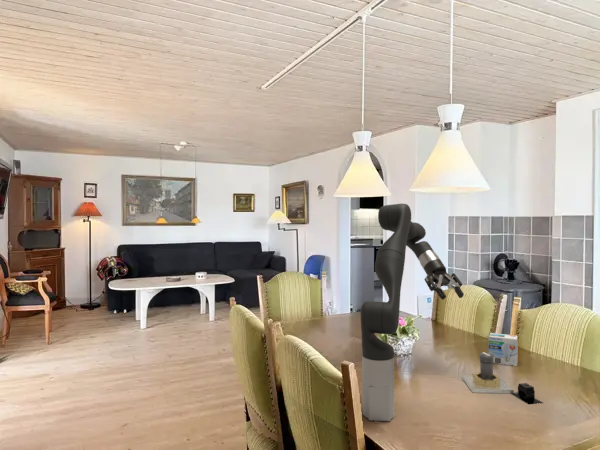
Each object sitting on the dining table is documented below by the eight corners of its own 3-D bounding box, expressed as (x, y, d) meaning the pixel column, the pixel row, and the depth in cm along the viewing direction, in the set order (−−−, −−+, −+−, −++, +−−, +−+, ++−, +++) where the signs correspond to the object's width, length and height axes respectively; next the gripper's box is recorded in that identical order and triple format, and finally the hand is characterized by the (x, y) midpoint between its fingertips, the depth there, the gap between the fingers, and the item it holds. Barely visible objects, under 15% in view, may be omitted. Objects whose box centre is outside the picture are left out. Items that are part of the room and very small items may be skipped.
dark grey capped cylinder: (496, 383, 147) (496, 355, 147) (485, 384, 146) (485, 356, 146) (488, 379, 151) (487, 351, 151) (477, 380, 150) (476, 352, 150)
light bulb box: (488, 362, 173) (487, 336, 173) (489, 358, 179) (489, 332, 179) (517, 366, 168) (517, 339, 168) (518, 361, 174) (517, 335, 174)
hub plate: (513, 393, 141) (513, 382, 141) (472, 392, 143) (472, 380, 143) (499, 379, 154) (499, 369, 154) (462, 378, 156) (462, 368, 156)
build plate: (550, 406, 132) (550, 391, 132) (528, 408, 131) (528, 393, 131) (523, 391, 145) (523, 377, 145) (503, 392, 144) (503, 379, 144)
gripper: (422, 258, 165) (443, 292, 155) (450, 257, 171) (473, 290, 161) (413, 271, 170) (433, 305, 160) (441, 269, 176) (462, 302, 165)
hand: (453, 297), depth 160 cm, fingers open, 8 cm apart
